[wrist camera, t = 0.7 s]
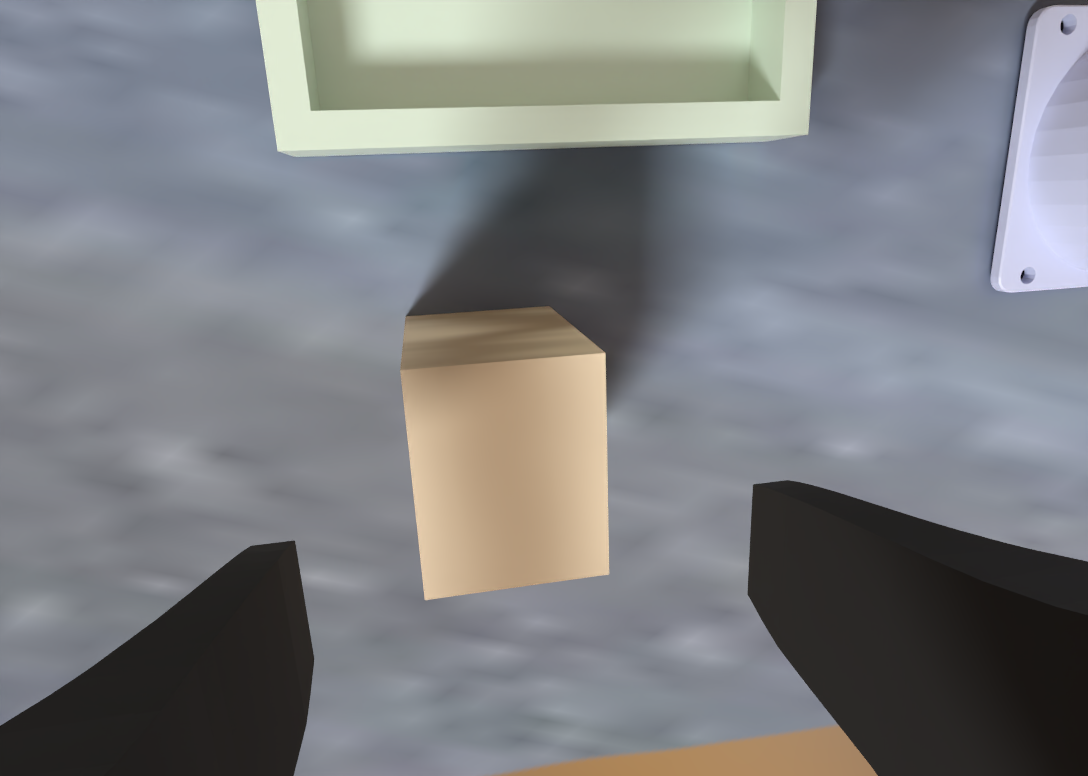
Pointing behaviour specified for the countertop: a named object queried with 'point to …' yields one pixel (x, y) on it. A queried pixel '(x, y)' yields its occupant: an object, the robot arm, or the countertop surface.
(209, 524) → the countertop surface
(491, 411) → the block
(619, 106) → the tray
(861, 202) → the countertop surface
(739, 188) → the countertop surface
